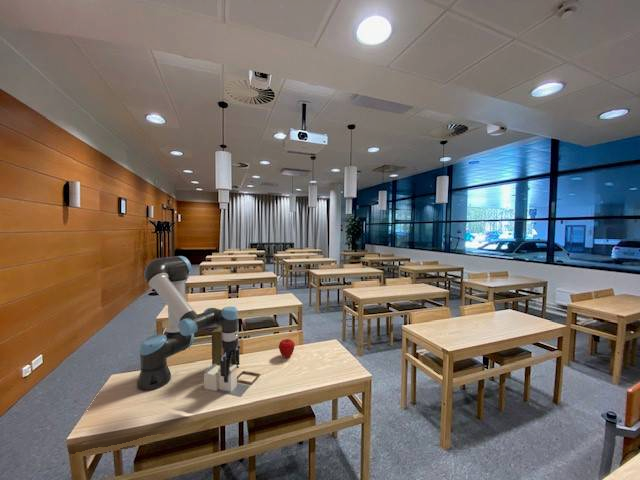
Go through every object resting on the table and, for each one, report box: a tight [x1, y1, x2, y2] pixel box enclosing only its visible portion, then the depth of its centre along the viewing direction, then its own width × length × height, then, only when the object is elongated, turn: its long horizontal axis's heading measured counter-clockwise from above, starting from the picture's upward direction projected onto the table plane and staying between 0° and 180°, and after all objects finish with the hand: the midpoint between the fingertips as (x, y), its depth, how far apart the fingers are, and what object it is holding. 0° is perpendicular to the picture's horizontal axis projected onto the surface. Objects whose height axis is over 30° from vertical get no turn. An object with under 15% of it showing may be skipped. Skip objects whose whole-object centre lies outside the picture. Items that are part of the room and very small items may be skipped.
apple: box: [278, 338, 296, 358], centre depth 167 cm, size 10×10×11 cm
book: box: [211, 326, 231, 366], centre depth 151 cm, size 16×6×25 cm, turn 168°
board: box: [201, 382, 251, 398], centre depth 133 cm, size 22×9×1 cm, turn 74°
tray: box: [237, 370, 261, 385], centre depth 141 cm, size 11×9×2 cm
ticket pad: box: [203, 364, 220, 392], centre depth 135 cm, size 7×8×9 cm
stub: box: [218, 364, 238, 392], centre depth 133 cm, size 7×5×11 cm
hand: (230, 384), depth 133 cm, fingers closed on stub, 5 cm apart
